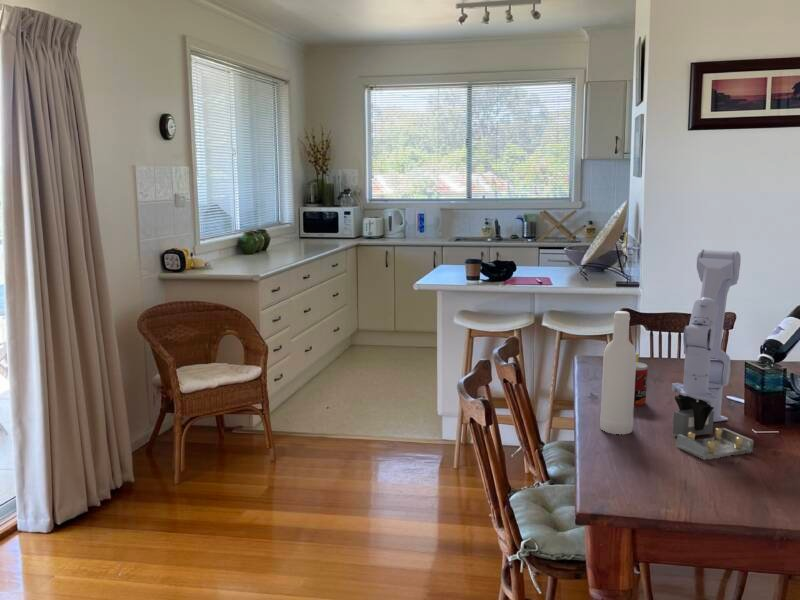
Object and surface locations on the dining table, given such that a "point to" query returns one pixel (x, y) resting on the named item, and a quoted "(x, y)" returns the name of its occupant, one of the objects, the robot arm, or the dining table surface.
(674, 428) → the block
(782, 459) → the dining table surface
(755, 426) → the dining table surface
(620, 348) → the bottle
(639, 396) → the canned food
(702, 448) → the pin tray
